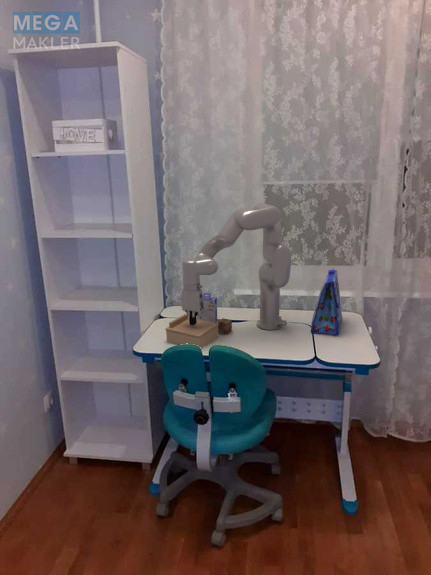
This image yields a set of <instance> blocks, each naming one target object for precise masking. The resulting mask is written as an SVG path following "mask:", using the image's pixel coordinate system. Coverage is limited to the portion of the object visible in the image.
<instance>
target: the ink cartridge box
mask: <svg viewBox="0 0 431 575" xmlns="http://www.w3.org/2000/svg"><path fill="white" fill-rule="evenodd" d="M203 297H204V309H202V310H203V314H199V315H197V316H196V319H199V320H203V321H208V322H213V323H216V322H218V297H211V293H207V292H203Z"/></svg>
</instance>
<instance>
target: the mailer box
mask: <svg viewBox="0 0 431 575" xmlns="http://www.w3.org/2000/svg"><path fill="white" fill-rule="evenodd" d="M165 331H166V333H165V334H166V342H168V343H172V344H175V345H179V344H186V343H188V344H195V345H198V346H199V347H201V349H202V348H205V345H206V346H208V345H209V344H210V343H212V342H213V341H215V339H218V338H219V333H218V326H217V327H215V328H214V329H212V330H211V331H209V332H208V333H206V334H205V335H203V336H202V337H200V338H197V337H193V336H189V335H184V334H180V333H176V332H172V331H167V330H166V329H165Z"/></svg>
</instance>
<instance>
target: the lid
mask: <svg viewBox="0 0 431 575" xmlns="http://www.w3.org/2000/svg"><path fill="white" fill-rule="evenodd" d="M196 319H197V318H196ZM168 324H169V325H168V326H167V327H166V328H165V331H166V330H167V331H172V332H176V333H180V334H184V335H189V336H193V337H197V338H200V337H202V336H203V335H205V334H206V333H208V332H209V331H211V330H212V329H214V328H215V327H217V326H218V325H219V324H217V323H213V322H208V321H203V320H199V319H197V322H196V324H195V325H193V326H192V325H190V322H189V317H188V314H187V313H184V314H183V315H181V316H179V317H177V318H176V319H173V320H171V321H170V322H169V323H168Z"/></svg>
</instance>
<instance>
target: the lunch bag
mask: <svg viewBox="0 0 431 575" xmlns="http://www.w3.org/2000/svg"><path fill="white" fill-rule="evenodd" d="M327 271H328V272H327V274H326V276H325V279H324V282H323V284H322V286H321V289H320V291H319V294H318V298H317V301H316V304H315V309H314V311H313V316H312V320H311V326H310V333H311V334H327V335H331V336H334V337H338V336H339V335H340V333H341V332H340V330H341V327H342V322H343V314H342V308H341V303H340V302H341V294H340V287H339V286H340V284H339V277H338V270H336V269H328V270H327Z"/></svg>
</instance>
